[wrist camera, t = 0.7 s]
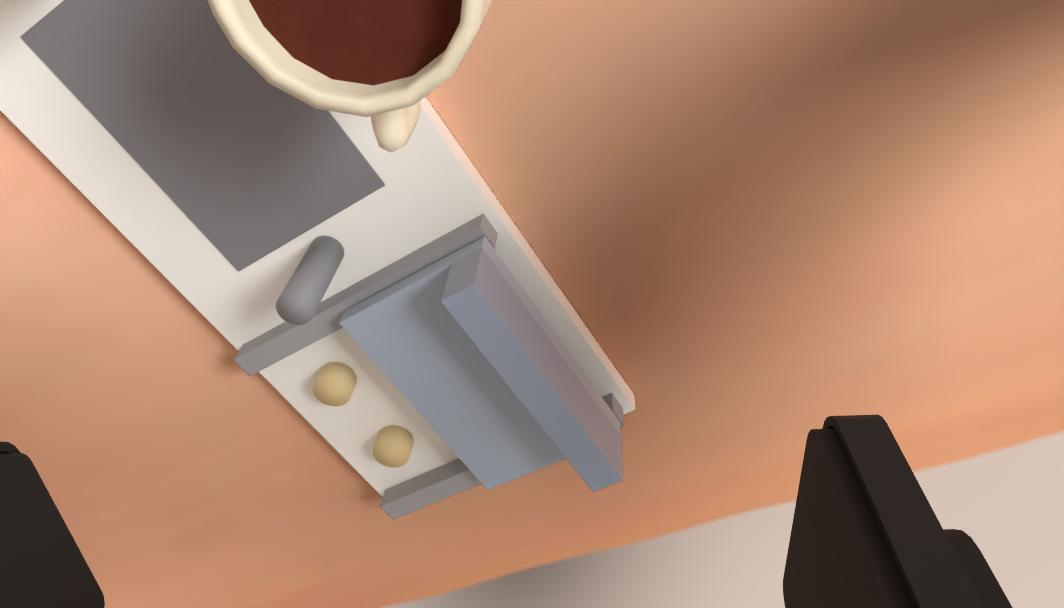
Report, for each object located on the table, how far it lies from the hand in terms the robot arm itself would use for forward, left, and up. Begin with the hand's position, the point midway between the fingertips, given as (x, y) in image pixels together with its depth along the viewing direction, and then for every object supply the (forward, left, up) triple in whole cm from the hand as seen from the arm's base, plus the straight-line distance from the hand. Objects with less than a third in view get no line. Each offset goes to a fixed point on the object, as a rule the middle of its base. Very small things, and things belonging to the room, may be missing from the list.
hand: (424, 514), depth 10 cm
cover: (+11, +13, -24) cm, 29 cm away
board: (+14, +4, -27) cm, 31 cm away
